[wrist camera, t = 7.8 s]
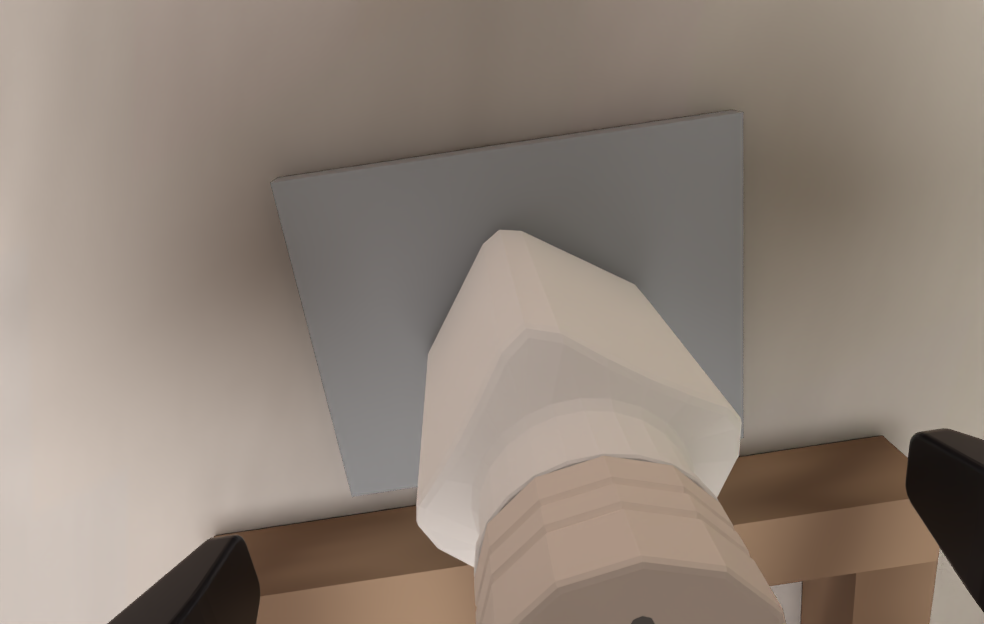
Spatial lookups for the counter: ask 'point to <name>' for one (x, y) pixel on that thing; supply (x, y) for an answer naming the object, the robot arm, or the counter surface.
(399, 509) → the wooden compartment tray
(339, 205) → the rubber pad
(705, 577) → the pepper shaker
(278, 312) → the counter surface
